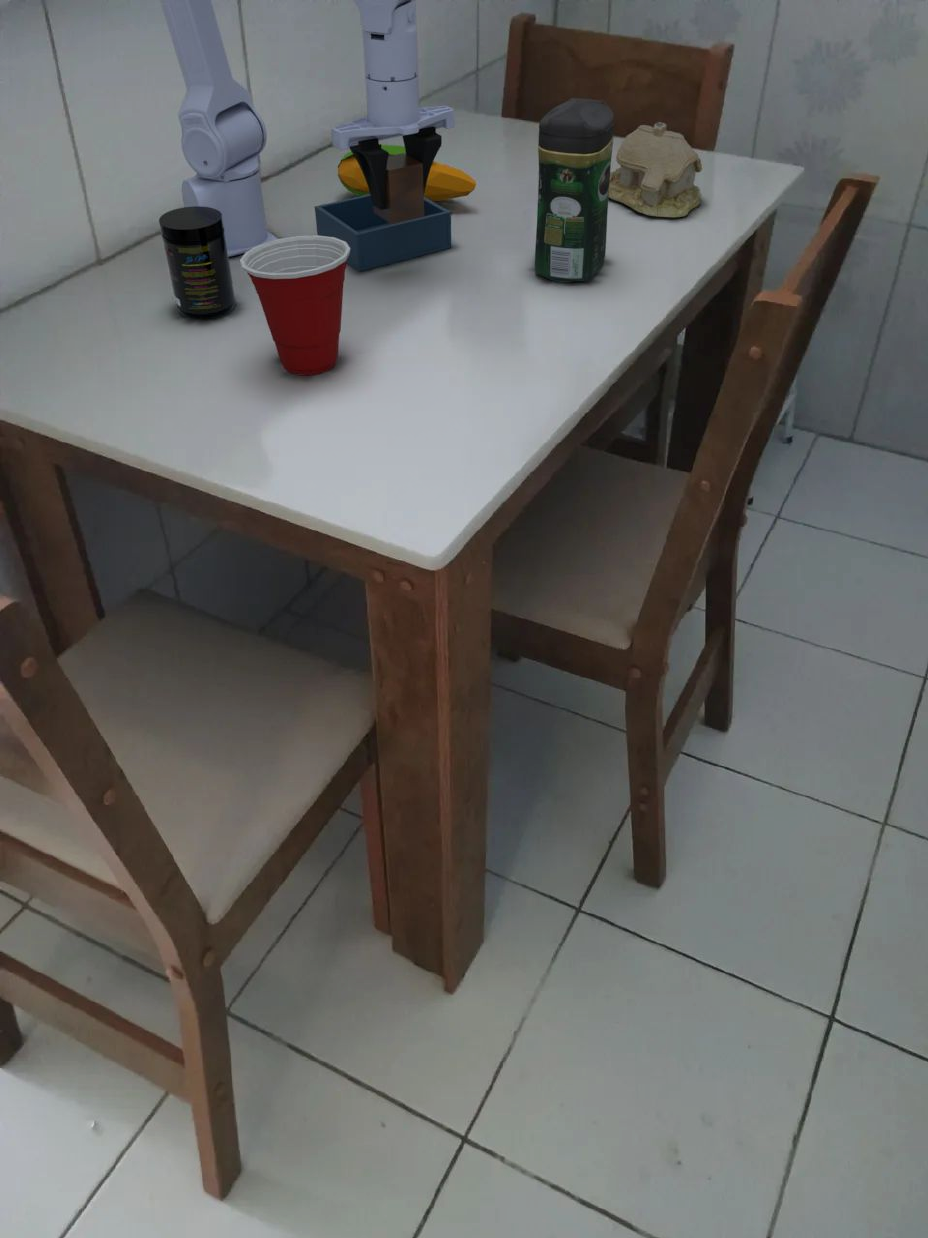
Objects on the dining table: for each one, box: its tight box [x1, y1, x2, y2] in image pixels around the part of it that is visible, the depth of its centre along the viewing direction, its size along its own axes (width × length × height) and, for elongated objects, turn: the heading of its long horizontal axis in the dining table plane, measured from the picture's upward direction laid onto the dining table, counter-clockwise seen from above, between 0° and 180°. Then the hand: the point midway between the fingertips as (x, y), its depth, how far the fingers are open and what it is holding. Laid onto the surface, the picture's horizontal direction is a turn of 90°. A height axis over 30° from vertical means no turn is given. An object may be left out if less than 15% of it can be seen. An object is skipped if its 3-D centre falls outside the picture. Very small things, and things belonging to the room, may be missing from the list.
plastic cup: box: [239, 234, 350, 376], centre depth 107 cm, size 11×11×12 cm
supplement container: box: [158, 206, 236, 321], centre depth 118 cm, size 7×7×10 cm
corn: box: [337, 144, 477, 202], centre depth 143 cm, size 7×8×20 cm
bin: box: [314, 194, 452, 272], centre depth 133 cm, size 13×11×4 cm
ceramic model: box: [608, 121, 703, 218], centre depth 142 cm, size 14×11×10 cm
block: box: [373, 153, 424, 224], centre depth 122 cm, size 4×4×6 cm
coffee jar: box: [534, 97, 616, 283], centre depth 123 cm, size 10×8×19 cm
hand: (397, 202), depth 123 cm, fingers closed on block, 4 cm apart
